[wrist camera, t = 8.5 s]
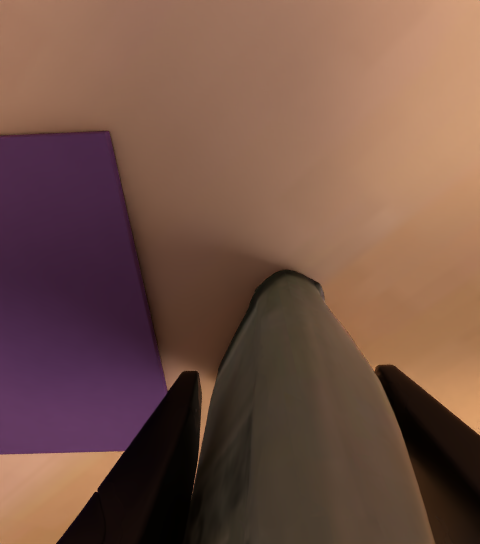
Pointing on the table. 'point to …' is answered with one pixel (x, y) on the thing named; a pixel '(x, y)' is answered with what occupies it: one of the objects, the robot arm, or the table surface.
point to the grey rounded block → (301, 435)
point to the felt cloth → (70, 301)
